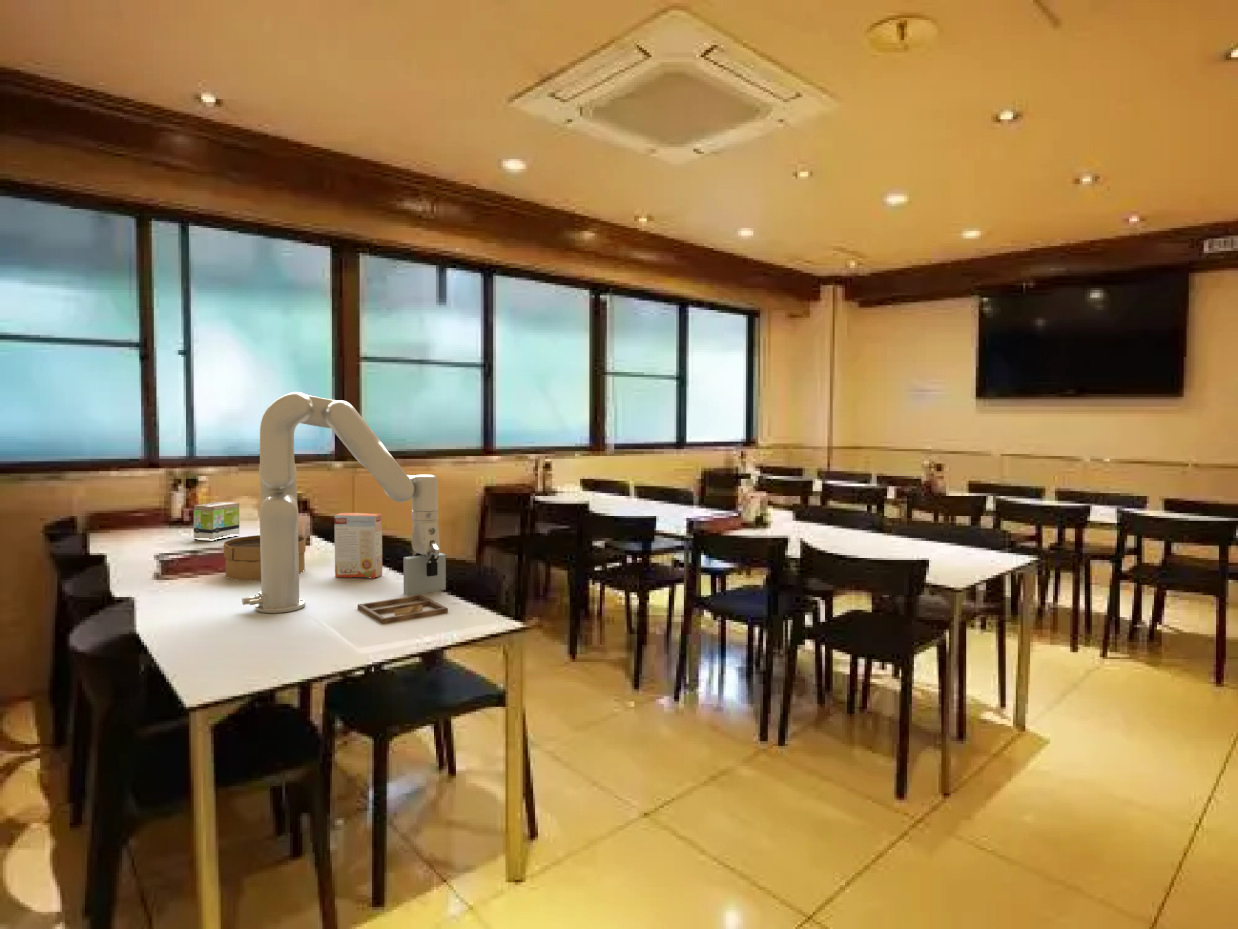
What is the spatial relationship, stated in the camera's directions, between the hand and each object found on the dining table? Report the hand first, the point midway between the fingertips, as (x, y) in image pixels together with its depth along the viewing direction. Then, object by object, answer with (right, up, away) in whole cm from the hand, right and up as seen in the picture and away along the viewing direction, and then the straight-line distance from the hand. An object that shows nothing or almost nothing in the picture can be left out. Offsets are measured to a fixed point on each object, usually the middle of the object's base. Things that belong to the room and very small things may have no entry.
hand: (425, 572), depth 219 cm
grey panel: (0, -7, 0) cm, 7 cm away
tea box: (-111, +1, +89) cm, 142 cm away
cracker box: (-28, -5, +24) cm, 37 cm away
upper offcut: (+2, -7, -24) cm, 25 cm away
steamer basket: (-61, -4, +28) cm, 67 cm away
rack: (0, -8, -21) cm, 23 cm away
